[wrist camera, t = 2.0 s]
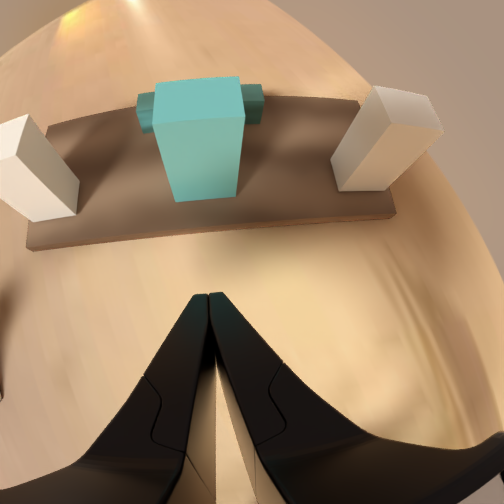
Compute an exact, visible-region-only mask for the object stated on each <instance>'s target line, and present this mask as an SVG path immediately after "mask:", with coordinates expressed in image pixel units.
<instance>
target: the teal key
mask: <svg viewBox="0 0 504 504" xmlns="http://www.w3.org/2000/svg"><path fill="white" fill-rule="evenodd" d="M244 122H245V112H244V105H243V99H242V93H241V86H240V80H239V77H215V78H200V79H189V80H179V81H170V82H162V83H156V87H155V97H154V108H153V120H152V126H153V129H154V133H155V136H156V140H157V143H158V147H159V150H160V154H161V157H162V160H163V164H164V167H165V170H166V174H167V177H168V180H169V183H170V186H171V190H172V193H173V196H174V199H175V202H184V201H194V200H204V199H216V198H228V197H236V190H237V181H238V172H239V163H240V155H241V147H242V138H243V130H244Z"/></svg>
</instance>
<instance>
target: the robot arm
mask: <svg viewBox="0 0 504 504" xmlns="http://www.w3.org/2000/svg"><path fill="white" fill-rule="evenodd" d="M216 364H217V369H218V374H219V377H220V381H221V385H222V389H223V392H224V396H225V399H226V403H227V407H228V410H229V414H230V417H231V420H232V424H233V427H234V431H235V434H236V437H237V441H238V444H239V447H240V450H241V453H242V457H243V460H244V463H245V466H246V469H247V472H248V475H249V478H250V481H251V484H252V487H253V490H254V493H255V496H256V499H257V502H258V504H504V431H499V432H497V433H495V434H493V435H492V436H491V437H489V438H488V439H486V440H485V441H483V442H482V443H481V444H479V445H477V446H475V447H471V448H467V449H459V450H452V449H442V448H435V447H428V446H422V445H416V444H410V443H405V442H399V441H394V440H389V439H385V438H381V437H378V436H375V435H373V434H371V433H368V432H367V431H365V430H363V429H361V428H360V427H359V426H357V425H356V424H354V423H353V422H352V421H350V420H349V419H348V418H346V417H345V416H344V415H343V414H341V413H340V412H339V411H337V410H336V409H335V408H334V407H332V406H331V405H330V404H328V403H327V402H326V401H325V400H323V399H322V398H321V397H320V396H319V395H317V394H316V393H315V392H314V391H313V390H312V389H310V388H309V387H308V386H307V385H306V384H305V383H304V382H303V381H302V380H301V379H300V378H299V377H298V376H297V375H296V374H295V373H294V372H293V371H292V370H291V369H290V368H289V367H288V366H287V365H286V363H283V360H282V359H281V358H280V357H279V356H278V355H277V354H276V353H275V351H274V350H273V349H272V348H271V347H270V346H269V345H268V344H267V343H266V341H265V340H264V339H263V338H262V337H261V336H260V335H259V333H258V332H257V331H256V330H255V329H254V328H253V327H252V325H251V324H250V323H249V322H248V321H247V320H246V319H245V317H244V316H243V315H242V314H241V313H240V312H239V310H238V309H237V308H236V307H235V306H234V305H233V303H232V302H231V301H230V300H229V299H228V298H227V296H226V295H225V294H224V293H223V292H216V293H210V294H209V295H208V294H195V295H193V296H192V298H191V299H190V301H189V302H188V304H187V306H186V307H185V309H184V310H183V312H182V313H181V315H180V317H179V318H178V320H177V321H176V323H175V324H174V326H173V328H172V329H171V331H170V332H169V334H168V336H167V337H166V339H165V340H164V342H163V344H162V345H161V347H160V348H159V350H158V352H157V353H156V355H155V356H154V358H153V360H152V361H151V363H150V364H149V366H148V368H147V369H146V371H145V373H144V374H143V375H144V376H142V377H141V379H140V380H139V382H138V384H137V385H136V387H135V388H134V390H133V391H132V393H131V395H130V396H129V398H128V399H127V401H126V402H125V403H124V405H123V406H122V407H121V409H120V410H119V411H118V413H117V414H116V415H115V417H114V418H113V419H112V420H111V422H110V423H109V424H108V425H107V427H106V428H105V429H104V430H103V432H102V433H101V434H100V435H99V437H98V438H97V439H96V440H95V442H94V443H93V444H92V445H91V447H90V448H89V449H88V450H87V451H86V453H85V454H84V455H83V456H82V457H81V458H79V459H78V460H77V461H76V462H74V463H73V464H71V465H69V466H67V467H65V468H62V469H60V470H58V471H55V472H53V473H50V474H47V475H45V476H42V477H40V478H37V479H34V480H31V481H29V482H26V483H23V484H20V485H17V486H14V487H11V488H7V489H3V490H0V504H216V502H215V501H216Z"/></svg>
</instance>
